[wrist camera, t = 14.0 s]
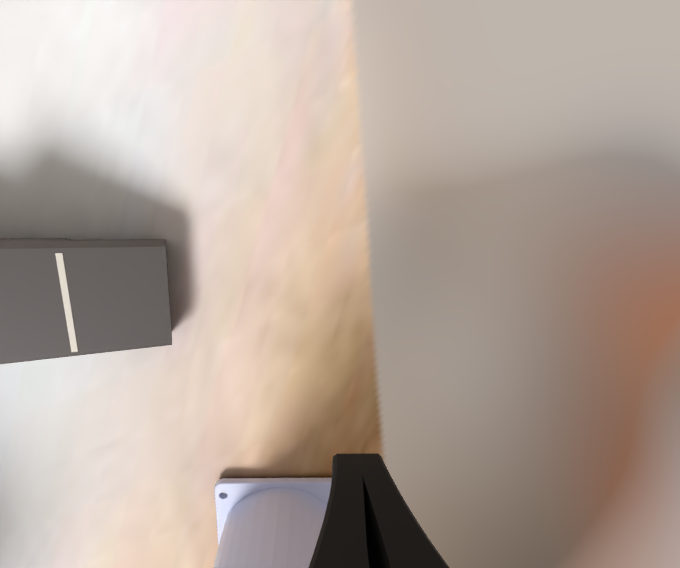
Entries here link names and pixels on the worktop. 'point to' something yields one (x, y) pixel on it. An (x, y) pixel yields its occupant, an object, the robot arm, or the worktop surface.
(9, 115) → the worktop surface
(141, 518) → the worktop surface
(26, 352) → the tile
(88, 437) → the worktop surface
